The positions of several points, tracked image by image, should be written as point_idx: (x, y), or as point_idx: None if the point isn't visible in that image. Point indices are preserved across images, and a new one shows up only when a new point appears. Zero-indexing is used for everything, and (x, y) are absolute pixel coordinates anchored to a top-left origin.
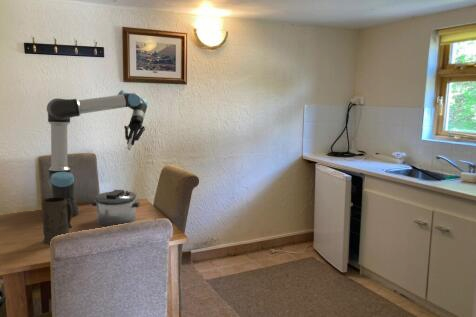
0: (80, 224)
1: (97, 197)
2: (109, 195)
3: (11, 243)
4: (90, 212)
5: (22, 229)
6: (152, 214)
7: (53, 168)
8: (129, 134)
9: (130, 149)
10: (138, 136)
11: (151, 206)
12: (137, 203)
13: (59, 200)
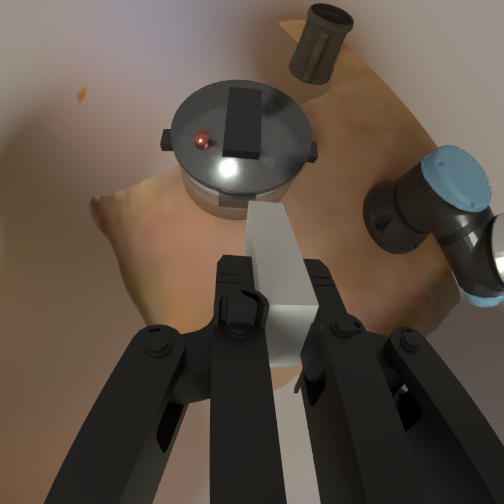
0: (315, 141)
1: (296, 112)
2: (251, 89)
3: (368, 72)
4: (341, 239)
5: (402, 126)
6: (140, 227)
7: None
8: (389, 424)
9: (244, 240)
10: (113, 395)
11: (161, 321)
12: (165, 131)
13: (334, 29)
